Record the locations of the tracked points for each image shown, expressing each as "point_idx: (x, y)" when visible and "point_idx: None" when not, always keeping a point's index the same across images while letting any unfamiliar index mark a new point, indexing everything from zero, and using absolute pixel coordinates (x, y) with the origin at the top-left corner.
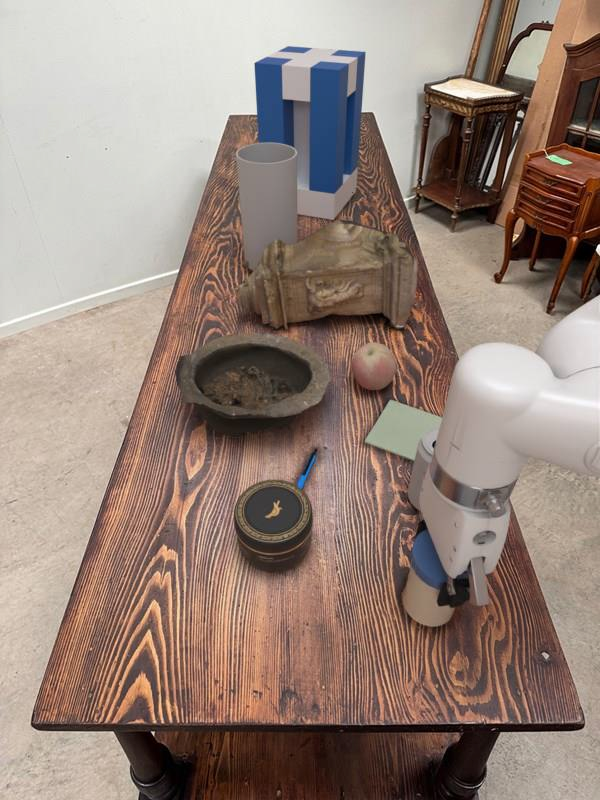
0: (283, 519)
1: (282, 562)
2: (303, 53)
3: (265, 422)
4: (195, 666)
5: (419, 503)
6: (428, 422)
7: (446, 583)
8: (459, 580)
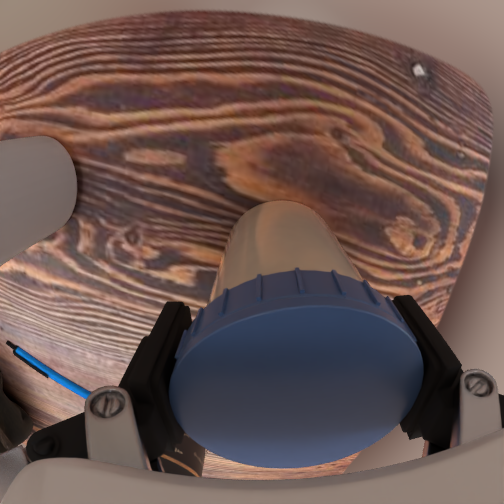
0: None
1: (201, 456)
2: None
3: (3, 409)
4: (300, 476)
5: (55, 227)
6: None
7: (411, 429)
8: (445, 430)
